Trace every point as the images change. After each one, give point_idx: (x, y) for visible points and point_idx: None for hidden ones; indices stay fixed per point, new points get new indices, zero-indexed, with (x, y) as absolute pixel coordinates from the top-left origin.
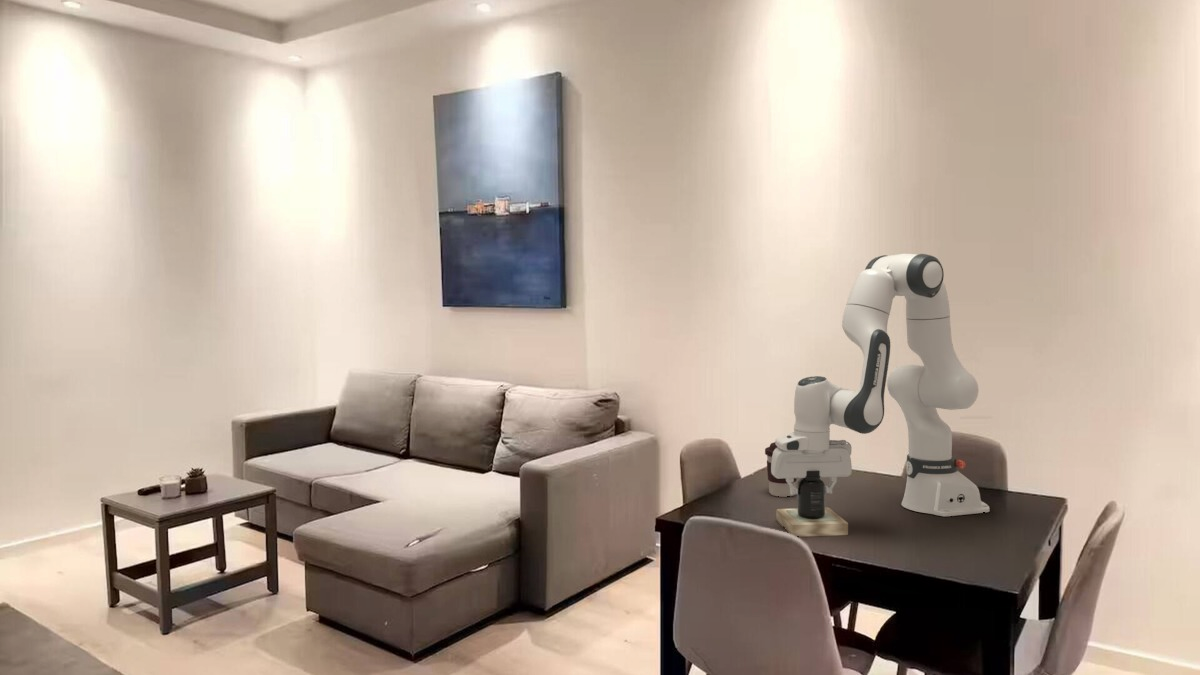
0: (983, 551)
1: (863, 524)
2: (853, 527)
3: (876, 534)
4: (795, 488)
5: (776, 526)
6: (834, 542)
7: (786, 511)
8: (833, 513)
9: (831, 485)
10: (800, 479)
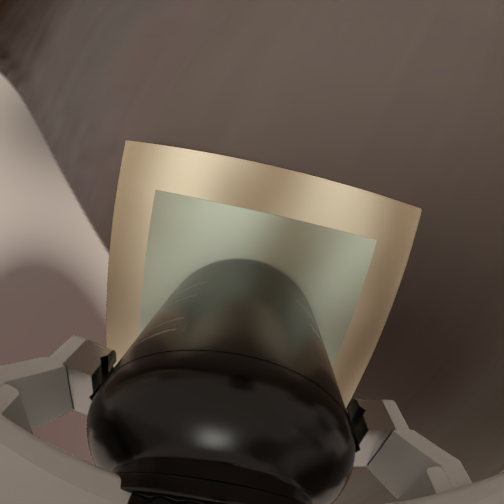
0: None
1: (453, 317)
2: (403, 340)
3: (405, 410)
4: (80, 407)
5: None
6: None
7: (153, 200)
8: (376, 316)
9: (379, 480)
10: (100, 453)
